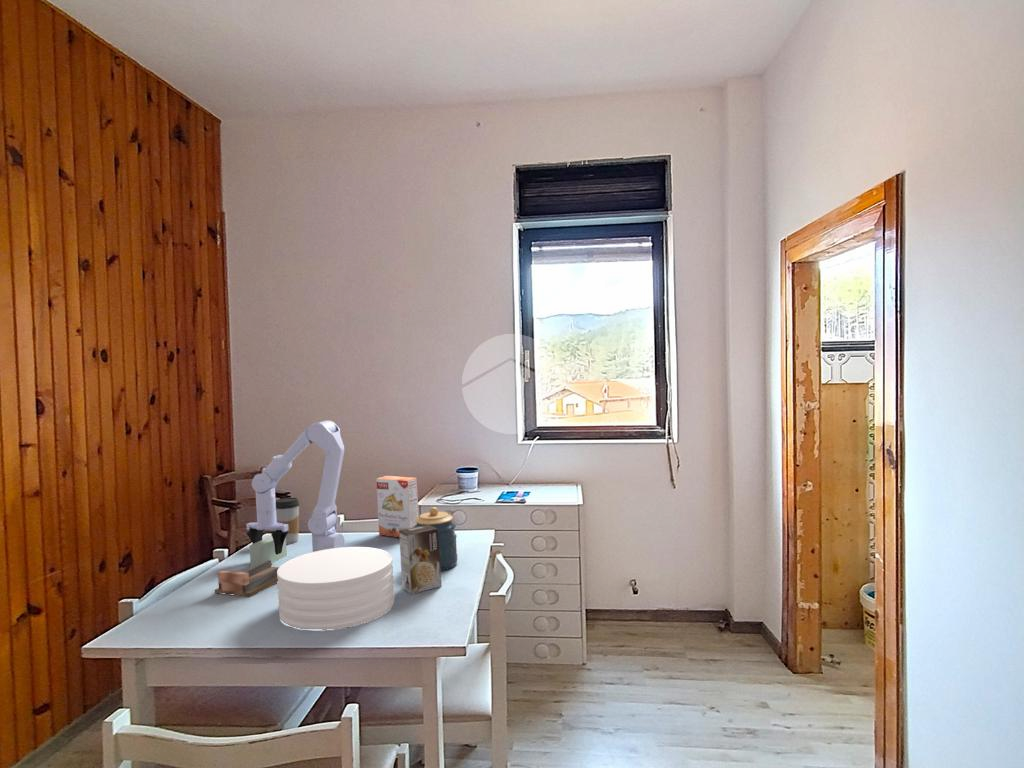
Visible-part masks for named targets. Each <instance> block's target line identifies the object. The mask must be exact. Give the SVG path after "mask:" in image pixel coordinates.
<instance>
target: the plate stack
mask: <svg viewBox="0 0 1024 768" xmlns="http://www.w3.org/2000/svg"><path fill="white" fill-rule="evenodd" d="M278 567H279V568H278V570H277V579H278V583H277V590H278V592H277V595H278V596H277V598H278V610H279V613H278V614H279V616H280V618H279V620H280V619H281V620H282V621H283V622H284V623H286V624H288V625H290V626H292V627H296V628H300V629H322V630H327V629H339V628H345V629H347V628H346V627H350V626H354V625H358V624H361V623H364V622H367V621H370V620H372V621H374V620H376V619H375V618H377V617H379V616H380V617H382V616H383V615H382V614H384V613H385V612H387V611H388V610H389V609H390V608H391V607H392V606H394V605H393V604H395V594H394V593H395V588H394V587H395V586H394V575H393V574H394V568H393V556H392V554H391V553H390V552H388V551H387V550H384V549H380V548H375V547H369V546H345V547H341V548H332V549H326V550H320V551H316V552H313V551H312V552H308V553H305V554H301V555H298V556H296V557H294V558H291V559H289V560H287V561H286V562H283V564H281V565H280V566H278ZM392 608H393V607H392ZM392 608H391V609H392ZM391 609H390V610H391ZM390 610H389V611H390ZM389 611H388V612H389ZM388 612H387V613H388ZM385 614H386V613H385ZM385 614H384V615H385ZM381 615H382V616H381ZM380 617H379V618H380ZM373 619H374V620H373ZM377 619H378V618H377ZM370 622H371V621H370ZM367 623H368V622H367ZM364 624H365V623H364ZM361 625H362V624H361ZM358 626H359V625H358ZM354 627H355V626H354ZM350 628H351V627H350ZM339 630H340V629H339Z"/></svg>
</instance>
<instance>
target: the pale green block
mask: <svg viewBox="0 0 1024 768" xmlns="http://www.w3.org/2000/svg"><path fill="white" fill-rule="evenodd" d="M287 553H288V551H287V544H286V538H285V540H284V543H283V548H282V553H280V554H276V553H275V545H274V541H273V538H272V535H271V536H268V537H266V538H264V539H262V540H261V541H259V542H256V543H254V544H253V543H252V544H250V545H249V557H250V558H249V559H250V561H249V562H250V568H252V567H254V566H256V565H259V564H261V563H263V562H265V561H267V560H271V564H273V563H275V562H277V561H279V560H281V559H284V558H286V557H287V556H288V555H287Z"/></svg>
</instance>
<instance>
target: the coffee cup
mask: <svg viewBox="0 0 1024 768" xmlns="http://www.w3.org/2000/svg"><path fill="white" fill-rule="evenodd" d="M275 501H276V519H277V522H278V523H282V524H288V534H287V536H286V545H292V544H295V543H297V542H298V540H299V529H300V501H299V499H298V497H283V498H278V499H275Z"/></svg>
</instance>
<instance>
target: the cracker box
mask: <svg viewBox="0 0 1024 768" xmlns="http://www.w3.org/2000/svg"><path fill="white" fill-rule="evenodd" d="M418 493H419V492H418V478H417V477H411V476H410V477H408V476H407V477H406V476H397V475H396V476H394V475H384V476H380V477H378V478H376V496H377V498H376V499H377V517H378V534H379V535H378V536H382V535H388V536H387V537H389V536H396V537H395V538H397V537H399V530H404V529H409V528H413V527H414V526H415V525H416V524H417V523H416V522H415V519H416V518H418V517H419V516H420V515H419V500H418V499H419V497H418V496H419V495H418Z"/></svg>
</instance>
